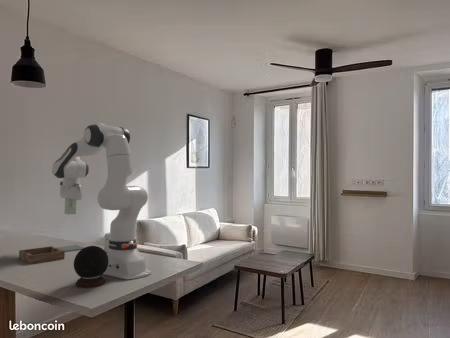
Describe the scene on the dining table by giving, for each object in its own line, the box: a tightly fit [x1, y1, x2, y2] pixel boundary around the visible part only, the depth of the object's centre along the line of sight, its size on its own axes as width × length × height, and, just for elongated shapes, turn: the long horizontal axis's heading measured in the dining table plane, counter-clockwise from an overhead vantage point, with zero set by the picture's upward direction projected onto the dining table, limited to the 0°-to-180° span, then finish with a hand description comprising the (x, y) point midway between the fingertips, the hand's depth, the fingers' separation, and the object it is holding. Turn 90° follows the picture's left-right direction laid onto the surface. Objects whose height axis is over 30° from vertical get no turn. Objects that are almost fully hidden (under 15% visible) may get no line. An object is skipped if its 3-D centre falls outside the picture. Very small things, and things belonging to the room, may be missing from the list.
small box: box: [103, 231, 110, 253], centre depth 195 cm, size 8×6×10 cm
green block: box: [64, 198, 77, 216], centre depth 198 cm, size 4×4×9 cm
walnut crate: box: [18, 245, 66, 265], centre depth 175 cm, size 16×16×4 cm
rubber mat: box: [56, 244, 85, 253], centre depth 199 cm, size 12×12×1 cm
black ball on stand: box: [73, 245, 109, 289], centre depth 137 cm, size 13×13×15 cm
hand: (70, 206), depth 198 cm, fingers closed on green block, 4 cm apart
